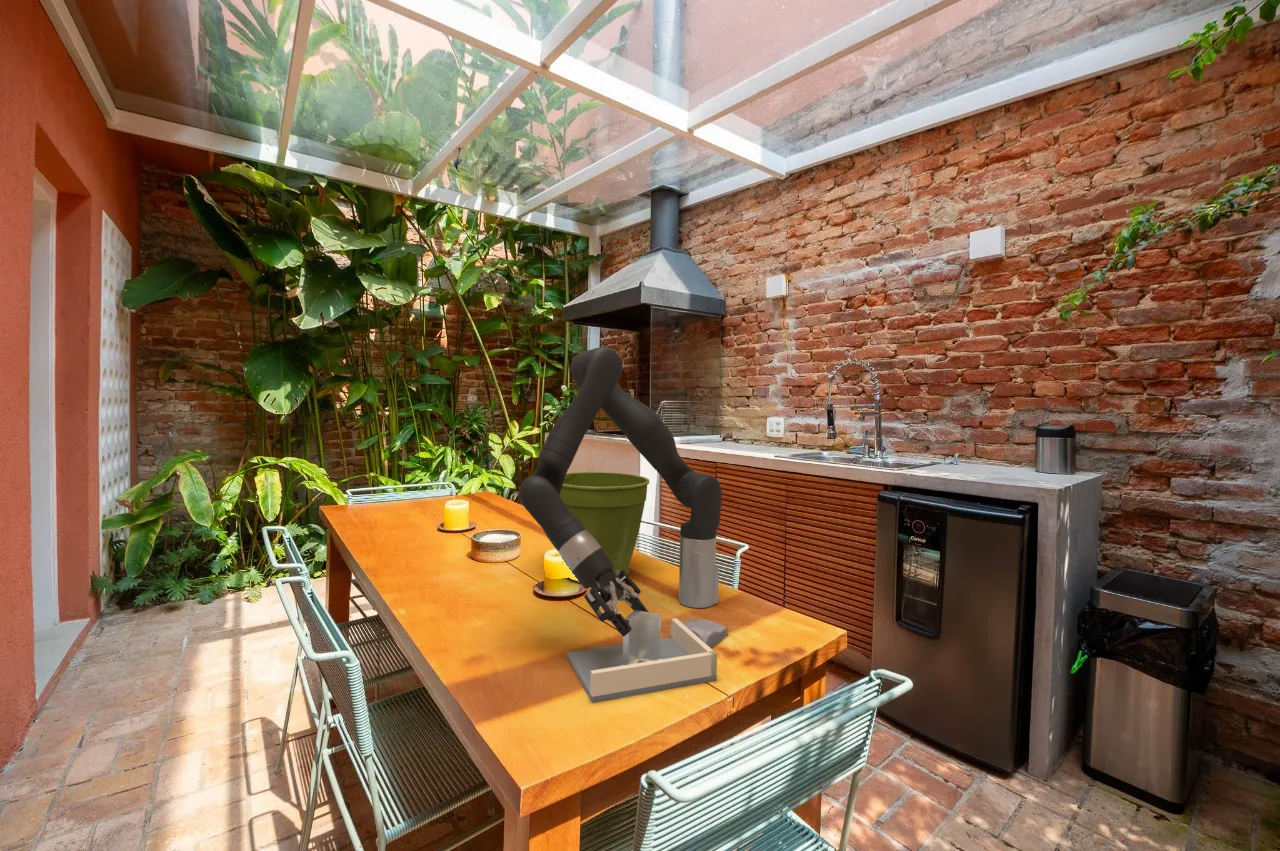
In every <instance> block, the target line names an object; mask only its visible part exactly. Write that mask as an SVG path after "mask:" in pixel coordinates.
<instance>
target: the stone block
mask: <svg viewBox="0 0 1280 851" xmlns="http://www.w3.org/2000/svg"><path fill="white" fill-rule="evenodd" d="M681 623H682V624H684V625H685V626H686V627H687V628H688V629H689V630H690V631H692V632H693V633H694V634H695V635H696V636H697V637H698V638H700V639H701V640H702V641H703V642H704V643H705V644H707V645H708V646H709V647H710V648H711V649H712V648H714V647H715V646H716V645H718V644H719V643H720V642H722V641H723V640H724V639H725V638H726V636H728V630H729V628H728V626H726V625H721V624H720V623H719V622H718V623H717V622H716V621H712V620H710V619H709V620H708V619H698V618H697V619H688V620H686V621H684V622H681ZM669 633H670V637H671V638H672V636H671V631H670V632H669Z"/></svg>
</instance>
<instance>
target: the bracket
mask: <svg viewBox="0 0 1280 851" xmlns="http://www.w3.org/2000/svg"><path fill="white" fill-rule="evenodd" d="M624 619H625V620H626V621H627V623H628V624H629V625H630V626H631V628H632V630H631V631H630V632H629V633H628V634H627V635H625V636H622V644H623V665H630V664H632V663H633V662H634V661H635V660H636V659H637V658H639V659H644V660H648V661H655V660H660V647H661V639H662V632H661V631H662V614H660V613H653V612H650V611H649V612H644V611H639V610H635V611H633V610H632V612H631V613H629V615H627V616H626V617H624Z"/></svg>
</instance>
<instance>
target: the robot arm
mask: <svg viewBox="0 0 1280 851" xmlns="http://www.w3.org/2000/svg"><path fill="white" fill-rule="evenodd" d="M622 361H623V360H622V358H621V356H620V355H619V353H618V352H617V351H616V350H615V349H613V348H611V347H607V346H602V347H596V348H595V347H594V348H592V349H589V350H584V351H582V352H580V353H578V354H576V355H575V356H574V357H573V358H572V360H571V362H570V368H569V370H570V375H571V378H572V380H573V381H574V383H575V384H576V386H577V387H578V388H579V391H578V393H577V394H576V396H575V397H574V399H573V400H572V402H571V403H570V405H569V406H568V407H567V408H566V409H565V411H564V412H563V413H562V414H561V416H560V417H559V418H558V420H556V422H555V424H554V425H553V426H552V428H551V430H550V431H549V433H548V435H547V437H546V439H545V440H544V441H545V442H544V443H543V445H542V447H541V450H540V451H539V454H538V456H537V468H536V469H535V471H534V474H533V475H532V476H528V477H526V478H525V479H523V480H522V482H521V483H520V485H519V487H518V493H517V494H518V499H519V502H520V503H521V505H522V506H523V507H524V508H525V510H526V511H527V512H528V513H529V515H530V516H531V517H532V518H533V520H535V522H536V523H537V524H538V525H539V527H541V528H542V530H543V532H544V534H545V535H546V537H547V539H548V541H549V542H550V543H551V545H552V546H553V547H554V549H555V550H556V551H557V552H558V554H560V558H561V557H562V558H561V560H562V559H563V560H564V562H565V563H566V565H567V566H568V567H569V569H570V570H571V571H572V573H573V574H574V575H575V577H576V578H577V579H578V581H579V582H578V583H580V584H581V586H582V588H583V589H586V590H587V589H590V590H589V591H587V592H586V593H585V594H584V595H583V598H584V599H585V601H586V603H587V604H588V605H589V607H590V608H591V609H592V611H593V612H594V613H595V615H596V617H597V618H598V619H599V621H600V622H601V623H604V622H605V621H607V622H611V624H612V625H613V626H614V627H615V629H616V630H617V631H618V633H619V634H620V635H621V636H622V637H623V636H625V635H627V634H628V633H629V632H630V631H631V630H632V628H631V626H630V625H629V624H628V623H627V621H626V620H625V617H624V616H623V615H622V613H620V612H619V607H618V602H624V603H626V604H628V605H629V606H630V608H631V609H632V612H633V611H635V610H639V611H644V612H649V613H650V611H649V610H648V609H647V607H646V606H645V605H644V603H643V602H642V600H640V594H641V593H642V590H641V589H640V588H639V587H638V585H637V584H636V583H635V582H634V581H633V580H632V578H631V577H630V576H629V574H628V575H627V573H626V572H625V571H624V570H621V571H620V572H619V573H618V574H617V575H616V574H615V573H614V572H613V571H612V568H613V567H614V563H613V561H612V560H611V559H610V558H609V556H608V555H607V554H606V552H605V551H604V550H603V549H602V547H601V546H600V545H599V544H598V542H597V541H596V540H595V539H594V537H593V536H592V535H591V534H589V533H588V531H587V530H586V529H585V528H584V527H583V525H582V524H581V523H580V521H579V520H578V519H577V518H576V517H575V516H574V515H573V513H572V512H571V511H570V510H569V509H568V508H567V506H566V505H565V503H564V502H563V500H562V499H561V497H560V496H559V495H560V492H561V489H562V486H563V483H564V480H565V476H566V473H568V471H569V469H570V467H571V466H572V463H573V461H574V459H575V456H576V454H577V452H578V450H579V448H580V445H581V443H582V441H583V439H584V437H585V435H586V433H587V431H588V430H589V428H590V426H591V425H592V423H593V421H594V420H595V417H596V416H597V415H598V412H600V409H601V410H602V411H603V412H604V413H605V414H606V415H607V416H608V418H610V419H611V421H612V422H613V423H614V424H615V425H616V427H617V428H618V429H619V430H620V432H622V433H623V435H624V436H625V437H626V438H627V440H629V442H630V443H631V444H632V446H633V447H634V448H635V449H636V450H637V452H638V453H639V454H640V455H641V456H642V457H643V458H644V459H645V460H646V461H647V462H648V463H649V465H650V466H651V467H652V468H653V469H654V470H655V471H656V472H657V473H658V474H659V475H660V477H661V478H662V479H663V481H664V482H665V483H666V485H667V486H668V488H669V490H670V491H671V493H672V494H673V495H674V496H675V498H676V499H677V501H678V502H679V503H680V504H681V505H683V506H685V507H687V508H689V509H690V518H689V520H688V521H685V522H683V523H681V525H680V530H679V532H680V533H679V536H680V537H679V571H678V572H679V575H678V576H679V577H678V580H679V581H678V602H679V603H680V604H681V605H683V606H685V607H687V608H695V609H702V608H703V609H705V608H709V607H712V606H714V605H715V604H716V605H717V604H718V603H719V572H720V571H719V570H720V568H719V566H718V565H717V564H716V562H717V532H718V529H719V526H720V522H721V512H722V498H723V497H722V495H723V494H722V493H723V492H722V486H721V484H720V482H719V480H718V479H717V478H716V477H715V476H713V475H710V474H706V473H705V474H704V473H701V472H697V471H695V470H693V469H692V468H691V467H690V466H689V465H688V464H687V462H685V461H684V459H683V458H682V457H681V455H680V454H679V452H678V449H677V444H676V442H675V437H674V435H673V433H672V431H671V430H670V428H669V427H668V425H666V424H665V422H664V421H663V420H662V419H661V417H660V416H659V415H658V414H657V413H656V412H655V410H653V409H651V407H649V406H647V405H646V404H645V403H643V402H641V401H639V400H637V399H636V398H634V397H633V396H631V395H630V394H628V393H627V392H625V390H624V389H622V387H620V385H619V383H618V382H619V381H620V379H621V377H622V375H623V374H622V373H623V368H624V367H623V366H624V365H623V362H622ZM600 608H601V609H600ZM602 611H603V612H602Z"/></svg>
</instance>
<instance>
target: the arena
mask: <svg viewBox="0 0 1280 851" xmlns="http://www.w3.org/2000/svg"><path fill="white" fill-rule="evenodd" d="M670 622H671V623H670V624H671V626H670V632H671V636H672V638H671V636H670V637H665V638H661V647H660V660H655V661H648V660H644V659H639V658H637V659H636V660H635V661H634V662H633V663H632V664H630V665H623V643H622V644H617V645H610V646H609V645H608V646H602V647H596V648H589V649H582V650H575V651H569V652H566V658H567V660H568V662H569V664H570V666H571V667H572V670H573V671H574V672H575V675H576V676H577V678H578V680H579V682H580V683H581V685H582V687H583V689H584V691H585V693H586V694H587V697H588V698H589V699H590V701H591V703H596V702H603V701H607V700H608V701H609V700H614V699H618V698H626V697H631V696H636V695H642V694H648V693H653V692H658V691H665V690H671V689H675V688H681V687H687V686H692V685H697V684H703V683H709V682H714V681H717V676H718V673H717V672H718V653H717V652H716V651H714V650H713V649H712V648H710V647H709V646H708V645H707V644H705V643H704V642H703V641H702V640H701V639H700V638H698V637H697V636H696V635H695V634H694V633H693V632H692V631H690V630H689V629H688V628H687V627H686V626H685V625H684V624H682V623H683V622H681V621H680V620H679V619H678V618H671V621H670Z"/></svg>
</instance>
